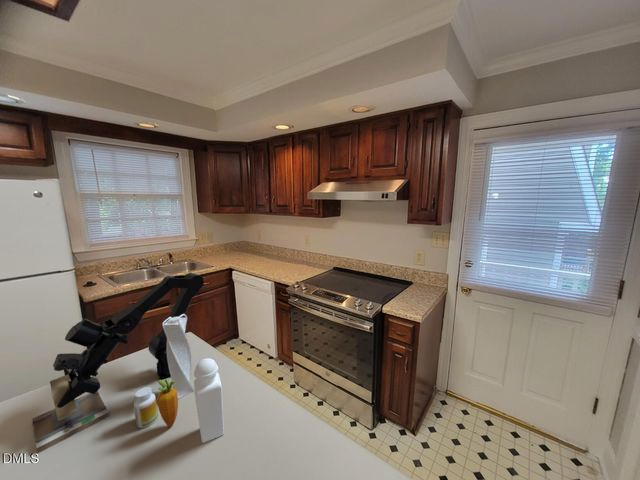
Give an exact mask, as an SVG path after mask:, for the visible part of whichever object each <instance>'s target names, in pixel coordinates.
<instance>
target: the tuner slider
mask: <svg viewBox="0 0 640 480" xmlns="http://www.w3.org/2000/svg"><path fill="white" fill-rule="evenodd" d="M68 381H71V379H70V377H69V374H68V375H65V374H64V375H63V376H59V377H57V378H55V379H53V380H50V381H49V386H50V389H51V395H52V400H53V403H54V404H53V405H54V409H55V410H56V411H53V412H51V416H52V421H53V425H54V429H55V430H56V429H58V428H61V427H63V426H65V425H67V424H68V426H69V429H70V428H72V427H73V424H72V422H73V421H75V420H77V419H79V418H81V417H83V413H82V411H81V408H80V406H79V403H78V401H76V402H75V400H76V399H74V400H72V401H71V402H69V403H68V404H66V405H65V406H63V407H62V408H58V407H57V405H58V404H59V402H60V400H61V399H62V397H63V396H64V394H65V393H66V391H67V390H68V388H69V385H68Z"/></svg>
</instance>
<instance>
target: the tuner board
mask: <svg viewBox="0 0 640 480" xmlns="http://www.w3.org/2000/svg"><path fill="white" fill-rule="evenodd" d="M74 400H75V402H76V401H78V403H79V406H80V408H81V411H82V413H83V417H81V418H79V419H77V420H75V421H73V422H72V424H73V427H72V428H70V429H69V426H68V424H67V425H65V426H63V427H61V428H58V429H56V430H55V429H54V425H53V421H52V416H51V412H53V411H56V410H55V408H53V409H51V410H48V411H47V412H44V413H41V414H39V415H37V416H35V417H33V418H32V419H31V421H32V425H33V427H32V428H33V434H34V442H35V446H36V447H35V448H36V451H37V454H39V453H41V452H43V451H46V450H47V449H49V448H51V447H53V446H55V445H56V444H59V443H61V442H63V441H65V440H66V439H68V438H71V437H72V436H74V435H76V434H78V433H80V432H82V431H84V430H86V429H88V428H89V427H92V426H94V425H95V424H97V423H99V422H101V421H104V420H106V419H107V418H109V417H110V414H109V410H108V408H107V406H106V405H105V403H104V401H103V399H102V397H101V396H100V393H99V390H98V391H97V392H96V394H92V393H87V394H85V395H83V396H82V395H81V397H80V396H79V397H77V398H75V399H74Z"/></svg>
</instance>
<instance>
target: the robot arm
mask: <svg viewBox="0 0 640 480" xmlns="http://www.w3.org/2000/svg"><path fill="white" fill-rule="evenodd" d="M204 284H205V279H204V277H203V276H202V275H199V274H197V273H194V272H188V273H185V274H178V275H167V276H165V277H163V279H162V280H161V281H160V282H159V283H158V284H156V285H155V286H154V287H152V289H150V290H149V291H148V292H146V294H145V295H143V296H142V297H141V298H140V299H138V301H136V302H135V303H134V304H132V305H130V306H127V307H125V308H123V309H122V310H119V312H117V313H116V314H114V315H112V317H110V318H108V319H106V320H103V321H101V322H99V323H96V322H93V321H91V320H89V319H88V318H85V317H84V318H82V319H81V321H79V322H77V323H76V324H75V325H73V326H72V327H70V329H69V330H68V332H66V335H65V338H64V341H66V342H70V343H73V344H76V345H78V346H82V347H86V349H84V350H83V351H82V352H81V353H76V352H75V353H71V352H70V353H58V354H57V355H56V357H55V360H54V362H53V365H52V367H53V370H54V371H55V372H61V371H63V375H64V376H65V375H68V374H69V377H70V379H71V381H68V385H69V388H68V390H67V391H66V393H65V394H64V396H63V397H62V399H61V400H60V402H59V404H58V405H57V407H58V408H62V407H63V406H65V405H66V404H68V403H69V402H71V401H72V400H76V399H78V398H80V396H82V395H83V394H85V393H87V394H89V393H92V394H96V392H97V391H98V392H99V390H100V389H101V383H100V380H99V379H98V377H97V376H98V374H99V372H98V370H99V369H100V368H101V366H102V365H103V364H108V362H109V359H108V357H110V355H111V354H112V353H113V351H114V350H115V349H116V347H118V345H119V343H122V344H123V345H128V339H127V338H128V336H127V334H129V333H131V332H132V331H134V330H135V328H136V327H137V326H138V325H139V324H140V322H141V321H142V319H143V317H144V315H145V314H146V313H147V312H148V311H149V310H150V309H151V308H153V307H154V306H155V305H156V304H157V303H158V302H160V300H162V299H163V298H164V297H165V296H166V295H167V294H168V293H169V292H170V291H172V290H173V289H179V295H178V296H177V299H176V301H175V303H174V306H173V307H172V309H171V311H170V314H169V316H168V317H167V319H168V318H169V317H172V318H173V317H179V316H180V315H182V314H185V315H186V312H187V310H188V308H189V306H190V304H191V302H192V299H193V298H194V297H195V296H196V295H197V294H198V293H200V291H201V290H202V288H203V287H204ZM180 318H185V317H184V316H181V317H180ZM168 320H169V319H168ZM168 320H167V321H168ZM167 321H166V322H167ZM166 322H165V323H166ZM147 345H148V351H149V352H148V353H150V354H151V355H152V356H153V357H154V358H155V359H156V360H157V362H156V372H157V377H159V381H160V380H162V381H163V380H166V379H168V378H171V375H170V371H169V367H168V361H167V337H166V334H165V331H164V328H163V327H162V330H161V331H160V332H159V333H157V334H156V333H153V335H152V336H151V339H150V341H149V342H148V343H147ZM87 347H90V348H89V349H88V348H87Z"/></svg>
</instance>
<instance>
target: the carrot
mask: <svg viewBox="0 0 640 480" xmlns="http://www.w3.org/2000/svg"><path fill="white" fill-rule="evenodd" d="M157 383H158V385H160V386H161V387H159V388H158V390H159V391H160V392H159V393H158V395H157V397H156V403H157V408H158V410H159V414H160V416H161V419H162V420H163V422H164V423H165V425H166V426H167V427H170V428H172V427H173V425H174V424H175V421H176V419H177V415H178V410H179V399H178V397H177V391H176V390H175V389H174V388H173V383H174V380H172V379H171V381H169V379H168V378H165V379H164V381H163V379H162V380H159V381H158V382H157Z"/></svg>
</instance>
